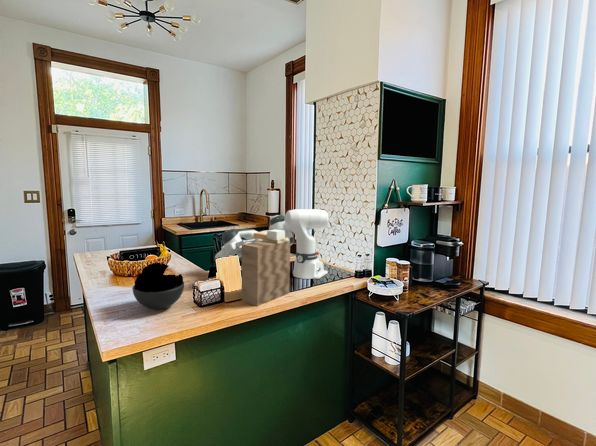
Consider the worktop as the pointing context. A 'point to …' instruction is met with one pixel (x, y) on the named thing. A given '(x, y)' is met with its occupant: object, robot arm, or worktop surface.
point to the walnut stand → (265, 270)
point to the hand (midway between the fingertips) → (251, 240)
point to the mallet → (271, 234)
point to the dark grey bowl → (157, 287)
